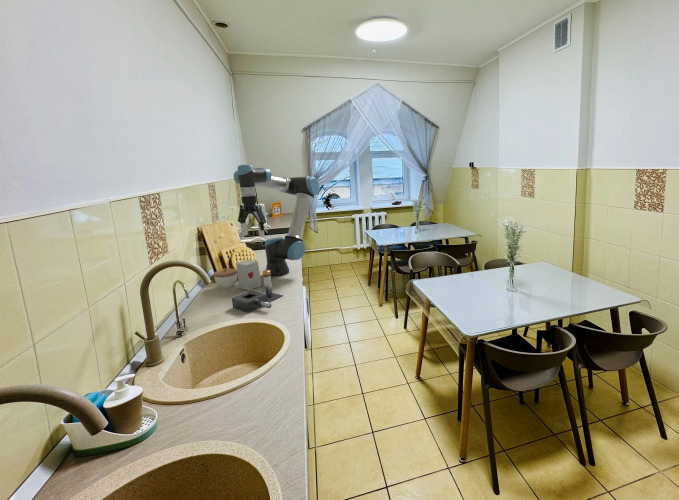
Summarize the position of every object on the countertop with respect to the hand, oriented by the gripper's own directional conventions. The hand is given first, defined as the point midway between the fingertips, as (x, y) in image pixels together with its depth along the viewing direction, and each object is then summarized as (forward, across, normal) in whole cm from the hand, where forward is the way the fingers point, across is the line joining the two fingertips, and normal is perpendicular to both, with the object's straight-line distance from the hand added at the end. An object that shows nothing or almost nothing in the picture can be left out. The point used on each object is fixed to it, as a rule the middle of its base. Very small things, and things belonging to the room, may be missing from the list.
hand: (253, 235), depth 172 cm
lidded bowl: (+31, -23, -5) cm, 39 cm away
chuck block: (+31, +17, -17) cm, 39 cm away
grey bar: (+30, +13, -5) cm, 33 cm away
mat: (+31, +13, -5) cm, 34 cm away
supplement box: (+31, -10, +1) cm, 33 cm away
